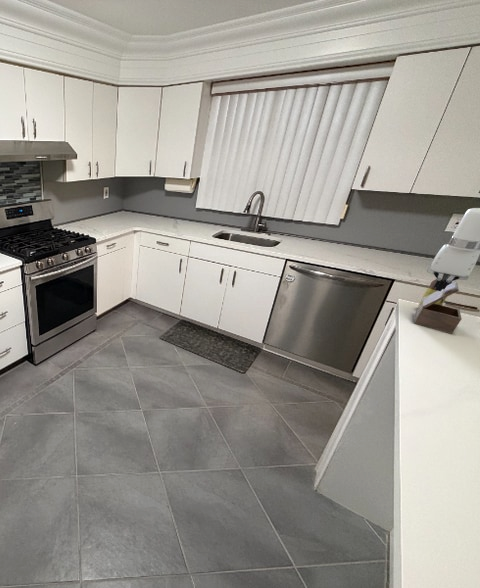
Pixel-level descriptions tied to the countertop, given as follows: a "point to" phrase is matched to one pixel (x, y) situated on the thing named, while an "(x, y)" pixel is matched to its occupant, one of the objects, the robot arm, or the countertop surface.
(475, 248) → the robot arm
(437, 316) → the walnut box
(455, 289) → the hatch
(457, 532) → the countertop surface
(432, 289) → the sauce bottle
